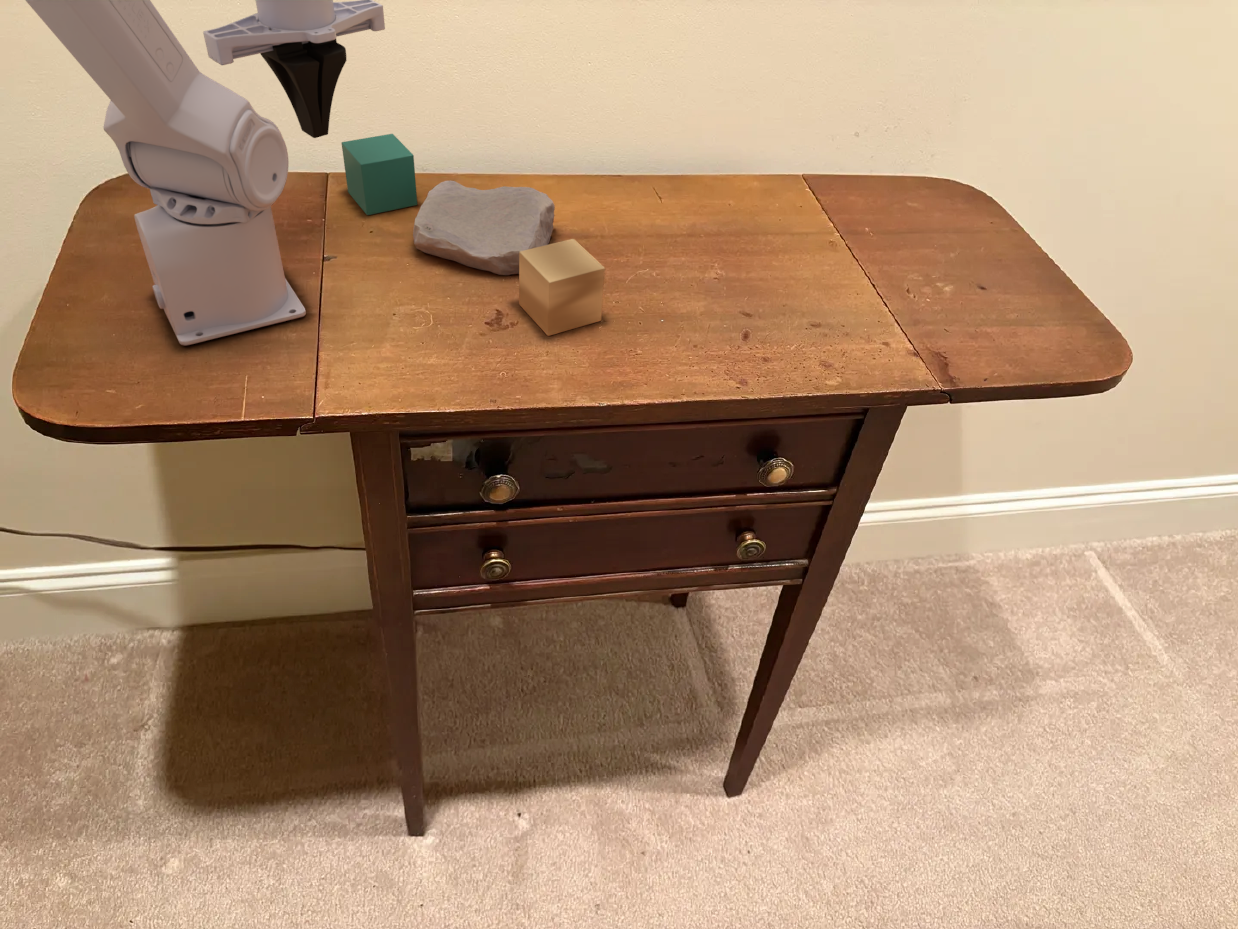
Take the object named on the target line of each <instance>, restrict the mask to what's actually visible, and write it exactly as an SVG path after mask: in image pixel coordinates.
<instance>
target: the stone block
mask: <svg viewBox="0 0 1238 929" xmlns="http://www.w3.org/2000/svg"><path fill="white" fill-rule="evenodd" d="M555 209H556V206H555V203H554V200H552V198H550V197H549V195H548V194H547V193H544V192H543V191H539V190H537V189H535V188H533V187H531V186H505V185H504V186H499V187H496V188H491V189H478V188H475V187H467V186H464V185H463V184H461V183H459V182H457V181H456V180H444V181H441V182H440V183H438V184H437V185H435V186H434V187H433V188H432V189H431V190H429V191H428V193H427V196H426V198H425V199H424V200H423V203H422V204H421V205H420V207H419V210H418V212H417V215H416V216H415V218H414V223H413V230H412V237H413V243H414V246H415V249H416V250H419V251H421V252H423V253H425V254H428V255H430V256H431V255H432V256H435V257H438V258H441V259H446V260H450V261H453V262H456V263H458V264H461V265H464V266H466V267H470V268H473V269H476V270H481V271H487V272H491V273H493V274H495V275H500V276H510V275H519V252H520V251H524V250H528V249H532V248H536V247H541V246H545V245H549V244H550V241H551V236H552V234H553V230H554V222H555Z"/></svg>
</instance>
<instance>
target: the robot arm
mask: <svg viewBox="0 0 1238 929" xmlns="http://www.w3.org/2000/svg"><path fill="white" fill-rule="evenodd" d="M25 2H26V3H27V4H28V5H29V7H30V8H31V9H32V10H33V11H34V12H35V14H36V15H37V16H38V18H40V19H41V20H42V22H43V23H44V24H45V25H46V26H47V27H48V29H49V30H50V31H51V33H52V34H54V36H55V37H56V38H57V39H58V41H60V43H61V44H62V45H63V46H64V47H65V48H66V50H67V51H68V52H69V53H70V55H71V56H72V57H73V58H74V59H75V60H76V62H77V63H78V64H79V65H80V66H81V67H82V68H83V69H84V71H85V72H86V73H87V75H89V77H90V78H91V79H92V80H93V81H94V82H95V84H96V85H97V86H98V87H99V89H101V90H102V92H103V94H104V95H106V97H107V98H108V99H109V103H108V105H107V108H106V111H105V117H104V122H103V126H102V128H103V130H104V132H105V133H106V135H108V137H110V139H111V140H112V141H113V143H114V145H115V147H116V148H117V150H118V152H119V155H120V158H121V161H122V164H123V167H124V168H125V171H126V172H127V174H128V176H129V177H130V178H131V179H132V180H133V181H134V183H136V184H137V185H138V186H140V187H142V188H145V189H149V192H150V195H151V199H152V202H153V204H154V205H155V206H154V207H151V208H149V209H145V210H143V211H140V212H137V213H134V215H133V218H134V221H135V225H136V229H137V232H138V236H139V239H140V242H141V246H142V249H143V252H144V255H145V258H146V261H147V265H148V268H149V271H150V274H151V277H152V281H153V284H152V286H151V287H152V291H153V294H154V297H155V300H156V303H157V305H158V308H159V309H161V310H163V311H164V313H165V315H166V318H167V319H168V322H169V324H170V326H171V329H172V330H173V332H174V334H175V337H176V339H177V341H178V343H179V345H181V346H190V345H194V344H195V345H196V344H198V343H203V342H206V341H210V340H211V341H212V340H215V339H218V338H224V337H226V336H231V335H234V334H238V333H243V332H247V331H250V330H254V329H259V328H263V327H267V326H271V325H275V324H279V323H283V322H286V321H290V320H291V321H292V320H296V319H299V318H303V317H305V316H306V314H307V311H306V307H305V306H304V304H303V303H302V302H301V300H300V299H299V297H298V295H297V293H296V292H295V291H294V289H293V288H292V286H291V285H290V283H289V281H288V279H287V278H286V276H285V270H284V266H283V260H282V256H281V251H280V245H279V240H278V236H277V235H278V234H277V230H276V226H275V220H274V215H273V210H272V206H273V205H274V204H275V202H277V200H278V199H279V197H280V196H281V194H282V193H283V191H284V189H285V186H286V184H287V179H288V173H289V152H288V148H287V144H286V141H285V139H284V137H283V134H282V132H281V130H280V129H279V127H278V126H277V125H276V123H275V122H274V121H273V120H270V119H269V118H267V117H263V116H262V115H260V114H258V112H256V110H255V109H254V107H253V106H252V104H251V103H250V101H249V100H248V99H246V98H245V97H243V96H242V95H240V94H238V92H237V93H236V92H235V91H233V90H231V89H230V88H228V87H226V86H225V85H223V84H221V83H219V82H217V81H216V80H214V79H213V78H210V77H209V76H207V75H205V74H203V73H202V72H201V71H200V70H199V68H198V67H197V66H196V64H195V63H194V61H193V60H192V59H191V57H190V55H189V54H188V53H187V51H186V49H185V48H184V47H183V45H182V44H181V42H180V41H179V40H178V38H177V37H176V35H175V34H174V32H173V31H172V30H171V28H170V27H169V26H168V24H167V22H166V21H165V19H164V18H163V16H162V15H161V13H160V12H159V11H158V9H157V8H156V7H155V5H154V3H153V1H151V0H25ZM255 6H256V11H257V12H256V13H253V14H251V15H248V16H245V17H243V18H240V19H238V20H235V21H233V22H230V23H227V24H225V25H221V26H219V27H216V28H211V29H207V30H203V32H202V33H203V38H204V43H205V47H206V52H207V55H208V56H207V57H208V58H209V59H211V60H212V61H214V62H215V63H217V64H219V65H220V66H226V65H231V64H233V63H234V62H235V61H234V60H236V59H241V58H246V57H251V56H254V55H260V56H261V57H262V59H263V60H264V61H265V62H266V64H267V65H268V67H269V68H270V70H271V71H272V72H273V74H274V76H275V77H276V78H277V80H278V81H279V83H280V85H281V87H282V88H283V90H284V92H285V93H286V96H287V98H288V100H289V102H290V105H291V106H292V109H293V111H294V113H295V115H296V118H297V120H298V123H299V126H300V129H301V131H302V132H303V133H306V135H308V136H309V137H311V138H313V139H317V138H320V137H324V136H328V135H329V129H330V117H331V110H332V104H333V100H334V94H335V90H336V87H337V83H338V81H339V77H340V75H341V73H342V71H343V68H344V67H345V65H346V63H347V50H346V47H345V46H344V45H342V44H341V43H339V42H338V40H337V37H341V36H346V35H350V34H355V33H358V32H359V33H360V32H364V31H369V30H370V31H372V32H380V31H385V30H386V24H385V14H384V13H385V12H384V5H383V4H382V3H379V2H377V1H375V0H348V1H334V0H255Z"/></svg>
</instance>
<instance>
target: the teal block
mask: <svg viewBox="0 0 1238 929" xmlns="http://www.w3.org/2000/svg"><path fill="white" fill-rule="evenodd" d="M341 150H342V157H343V164H344V173H345V181H346V189H347V193H348V194H349V195H350V196H351V198H352V199H353V201H355V203H356V204H357V205H358V207H359V208H360V209H361V210H362V212H364V213H365V215H366V216H371V215H372V216H373V215H376V214H377V215H378V214H381V213H387V212H390V211H395V210H400V209H401V210H402V209H405V208H410V207H414V206H418V193H417V181H416V169H415V157H414V154H413V153H412V152H411V151H410V150H409V149H408V148H407V147H406V145H404V144H403V142H402V141H400V140H399V138H398V137H397V136H396V135H395V134H394V133H388V134H383V135H376V136H369V137H364V138H358V139H353V140H346V141H342V142H341Z"/></svg>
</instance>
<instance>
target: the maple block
mask: <svg viewBox="0 0 1238 929" xmlns="http://www.w3.org/2000/svg"><path fill="white" fill-rule="evenodd" d="M605 275H606V267H605V266H604V265H602V263H601V262H600V261H598V259H596V258H595V257H594V256H593V255H592V254H591V253H590V252H589V251H588V250H586V249H585V247H584V246H582V245H581V244H580V243H579V242H578V241H577V240H576V239H575V238H570V239H566V240H561V241H558V242H552V243H549V244H548V245H545V246H541V247H536V248H532V249H528V250H524V251H520V252H519V274H518V277H519V278H518V305H519V306H520V307H521V308H522V309H523V311H525V313H526V314H527V315H528V316H529V317H530V318H531V319H532V321H534V322H535V324H536V325H537V326H538V327H539V328H540V329H541V330H542V331H543V332H544V333H545V335H546V336H547V337H550V336H553V335H556V334H560V333H564V332H568V331H570V330H574V329H577V328H580V327H585V326H588V325H591V324H594V323H598V322H601V321H602V314H603V301H604V300H603V299H604V288H605V287H604V286H605Z"/></svg>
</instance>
